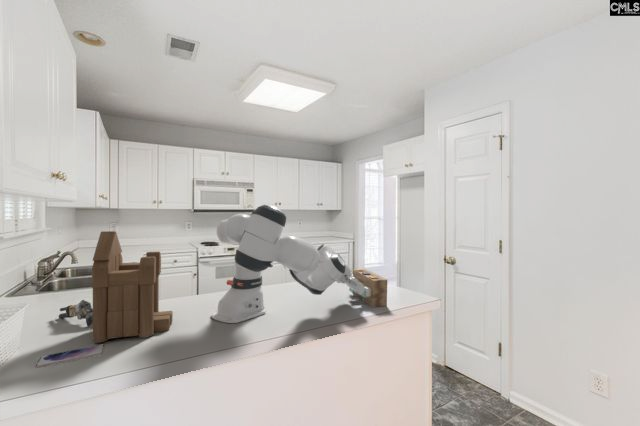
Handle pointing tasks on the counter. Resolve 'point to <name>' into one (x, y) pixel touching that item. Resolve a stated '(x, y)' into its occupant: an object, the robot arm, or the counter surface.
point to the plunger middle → (353, 290)
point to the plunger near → (367, 292)
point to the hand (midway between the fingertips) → (361, 293)
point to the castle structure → (125, 293)
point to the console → (372, 287)
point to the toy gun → (79, 312)
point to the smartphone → (69, 356)
